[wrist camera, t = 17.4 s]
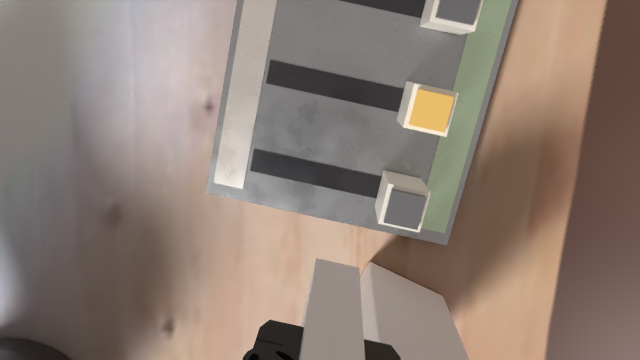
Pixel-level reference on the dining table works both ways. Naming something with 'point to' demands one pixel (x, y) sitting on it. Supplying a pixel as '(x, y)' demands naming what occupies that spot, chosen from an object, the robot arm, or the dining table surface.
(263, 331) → the robot arm
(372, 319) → the milk carton
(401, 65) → the panel
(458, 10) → the block
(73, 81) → the dining table surface
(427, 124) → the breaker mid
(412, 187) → the block
